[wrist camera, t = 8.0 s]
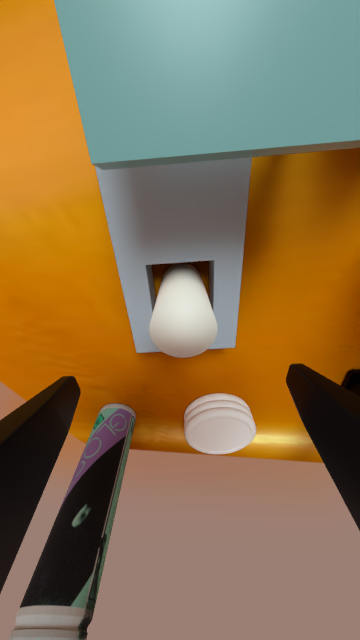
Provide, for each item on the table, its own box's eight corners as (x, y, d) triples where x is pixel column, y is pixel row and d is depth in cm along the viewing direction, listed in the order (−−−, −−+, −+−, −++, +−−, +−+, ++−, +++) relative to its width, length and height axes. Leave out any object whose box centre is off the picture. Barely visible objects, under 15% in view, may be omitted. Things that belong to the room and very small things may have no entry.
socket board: (228, 331, 22) (235, 347, 19) (141, 336, 22) (136, 352, 20) (242, 111, 13) (258, 85, 11) (100, 125, 14) (81, 103, 11)
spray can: (120, 398, 27) (13, 727, 10) (143, 418, 30) (89, 715, 12) (92, 411, 29) (-47, 719, 11) (115, 429, 31) (31, 710, 13)
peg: (202, 300, 20) (216, 356, 12) (164, 302, 20) (154, 359, 12) (201, 261, 18) (218, 297, 10) (159, 264, 18) (144, 302, 10)
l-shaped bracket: (289, 178, 15) (416, 134, 7) (138, 190, 15) (91, 163, 7) (311, 49, 12) (590, -305, 4) (120, 69, 12) (5, -213, 4)
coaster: (247, 430, 31) (254, 453, 28) (187, 434, 32) (187, 458, 29) (251, 388, 27) (260, 410, 24) (180, 393, 27) (180, 416, 24)
